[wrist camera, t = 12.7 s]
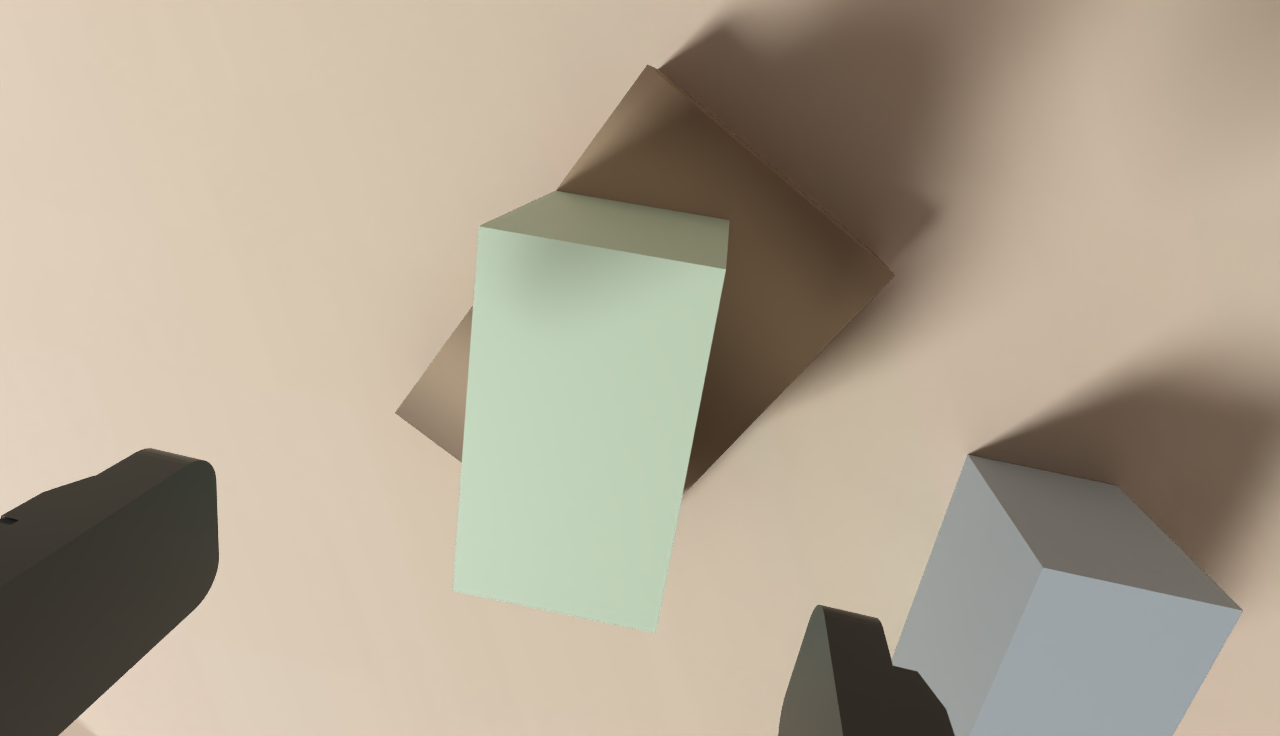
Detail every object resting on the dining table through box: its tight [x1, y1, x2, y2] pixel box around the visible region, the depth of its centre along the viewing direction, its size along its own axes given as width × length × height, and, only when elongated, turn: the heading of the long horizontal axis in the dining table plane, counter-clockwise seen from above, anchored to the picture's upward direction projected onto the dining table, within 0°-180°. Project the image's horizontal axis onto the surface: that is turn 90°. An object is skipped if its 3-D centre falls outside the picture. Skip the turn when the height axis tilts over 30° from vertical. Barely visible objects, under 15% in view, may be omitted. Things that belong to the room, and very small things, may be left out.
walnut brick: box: [395, 65, 895, 495], centre depth 22 cm, size 12×8×3 cm, turn 142°
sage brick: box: [453, 191, 730, 633], centre depth 17 cm, size 8×4×6 cm, turn 172°
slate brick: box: [892, 455, 1243, 736], centre depth 21 cm, size 8×4×6 cm, turn 170°
